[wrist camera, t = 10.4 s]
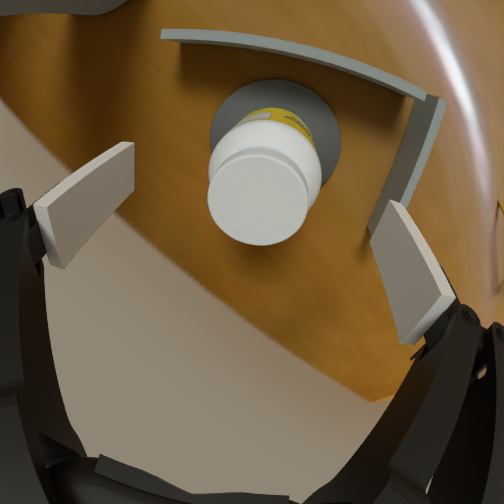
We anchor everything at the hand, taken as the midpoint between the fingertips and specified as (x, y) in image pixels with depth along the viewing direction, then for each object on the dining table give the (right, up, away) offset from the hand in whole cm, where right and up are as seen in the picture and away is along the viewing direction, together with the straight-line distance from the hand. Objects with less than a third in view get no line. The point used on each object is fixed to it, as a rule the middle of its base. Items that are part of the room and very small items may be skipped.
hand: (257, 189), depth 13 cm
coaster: (+2, +6, +9) cm, 11 cm away
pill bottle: (+2, +6, +9) cm, 11 cm away
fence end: (+13, +5, +8) cm, 16 cm away
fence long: (+3, +12, +4) cm, 13 cm away
